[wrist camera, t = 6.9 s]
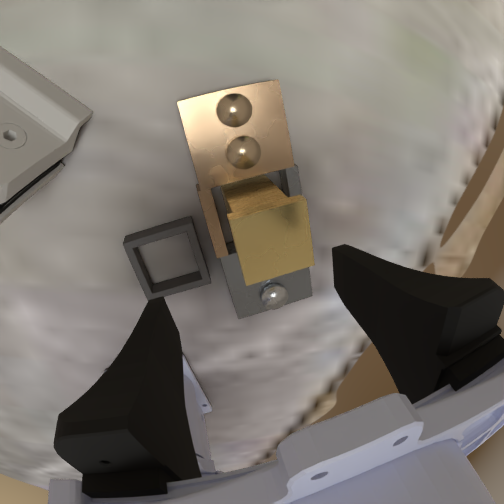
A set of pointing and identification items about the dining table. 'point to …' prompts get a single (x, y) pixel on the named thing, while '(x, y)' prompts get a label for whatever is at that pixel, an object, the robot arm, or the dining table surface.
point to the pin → (267, 229)
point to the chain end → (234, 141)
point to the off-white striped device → (32, 131)
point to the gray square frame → (157, 234)
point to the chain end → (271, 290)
